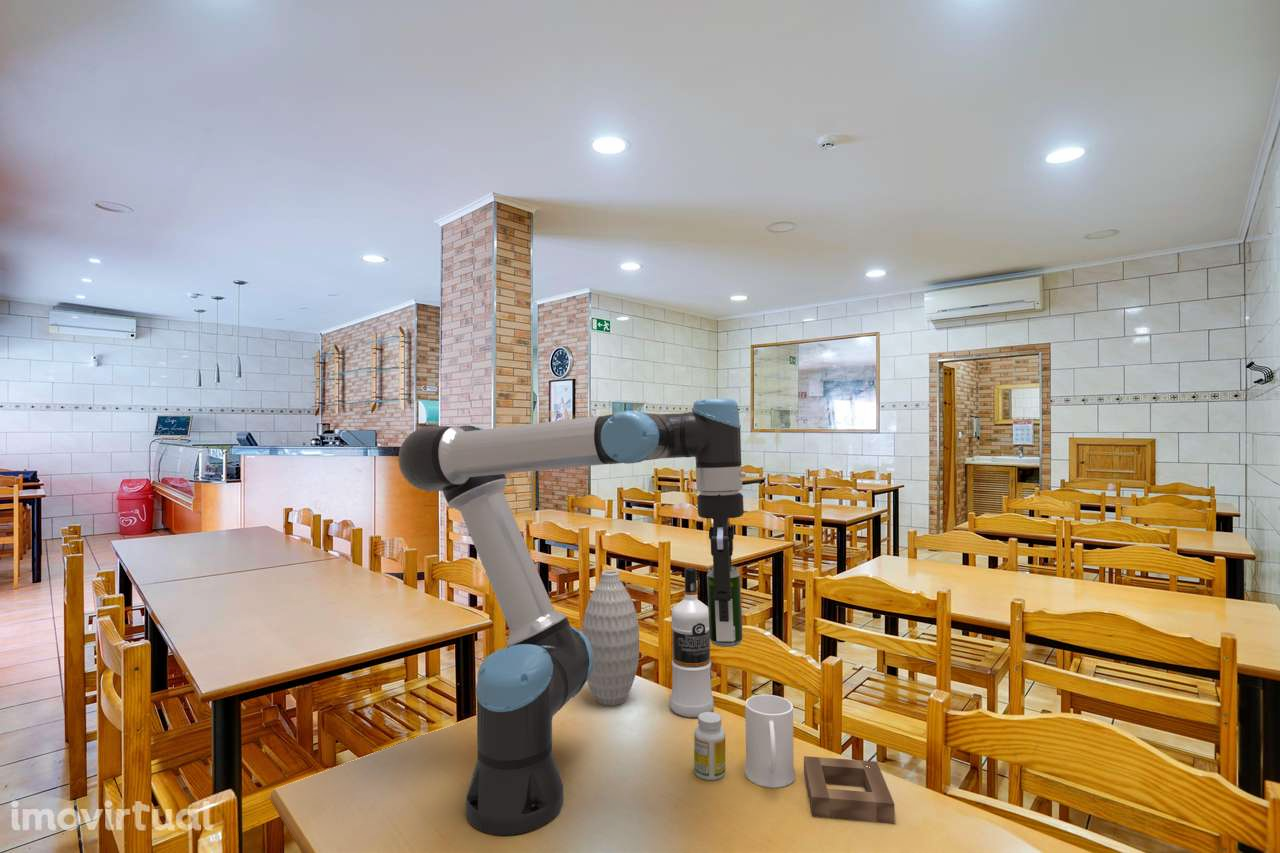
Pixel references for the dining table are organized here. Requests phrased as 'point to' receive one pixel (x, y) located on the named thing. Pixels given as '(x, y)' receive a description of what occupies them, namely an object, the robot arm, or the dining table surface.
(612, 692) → the vase
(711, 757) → the supplement bottle
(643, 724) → the dining table surface
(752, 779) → the mug
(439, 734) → the dining table surface
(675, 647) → the vodka
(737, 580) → the beer can
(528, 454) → the robot arm
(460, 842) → the dining table surface
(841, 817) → the holder
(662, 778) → the dining table surface
